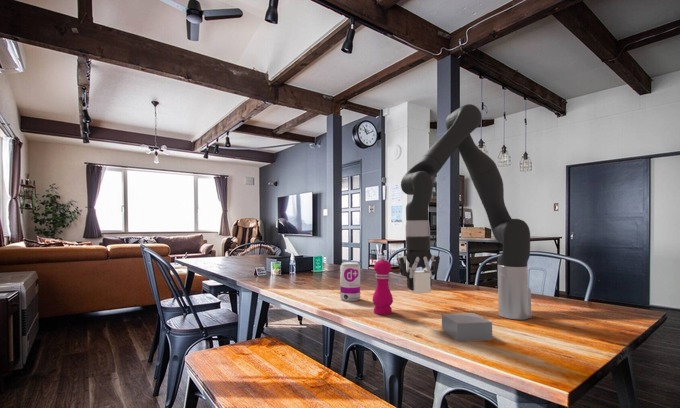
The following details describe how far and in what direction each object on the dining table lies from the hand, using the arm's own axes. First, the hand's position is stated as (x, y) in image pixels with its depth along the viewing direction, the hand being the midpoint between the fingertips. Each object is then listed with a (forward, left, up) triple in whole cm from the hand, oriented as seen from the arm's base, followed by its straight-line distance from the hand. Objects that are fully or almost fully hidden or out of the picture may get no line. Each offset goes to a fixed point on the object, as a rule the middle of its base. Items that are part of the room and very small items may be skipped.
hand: (419, 289), depth 108 cm
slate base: (-9, +12, -11) cm, 18 cm away
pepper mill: (+6, -16, -11) cm, 21 cm away
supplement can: (+12, -39, -11) cm, 43 cm away
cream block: (0, 0, -1) cm, 1 cm away
